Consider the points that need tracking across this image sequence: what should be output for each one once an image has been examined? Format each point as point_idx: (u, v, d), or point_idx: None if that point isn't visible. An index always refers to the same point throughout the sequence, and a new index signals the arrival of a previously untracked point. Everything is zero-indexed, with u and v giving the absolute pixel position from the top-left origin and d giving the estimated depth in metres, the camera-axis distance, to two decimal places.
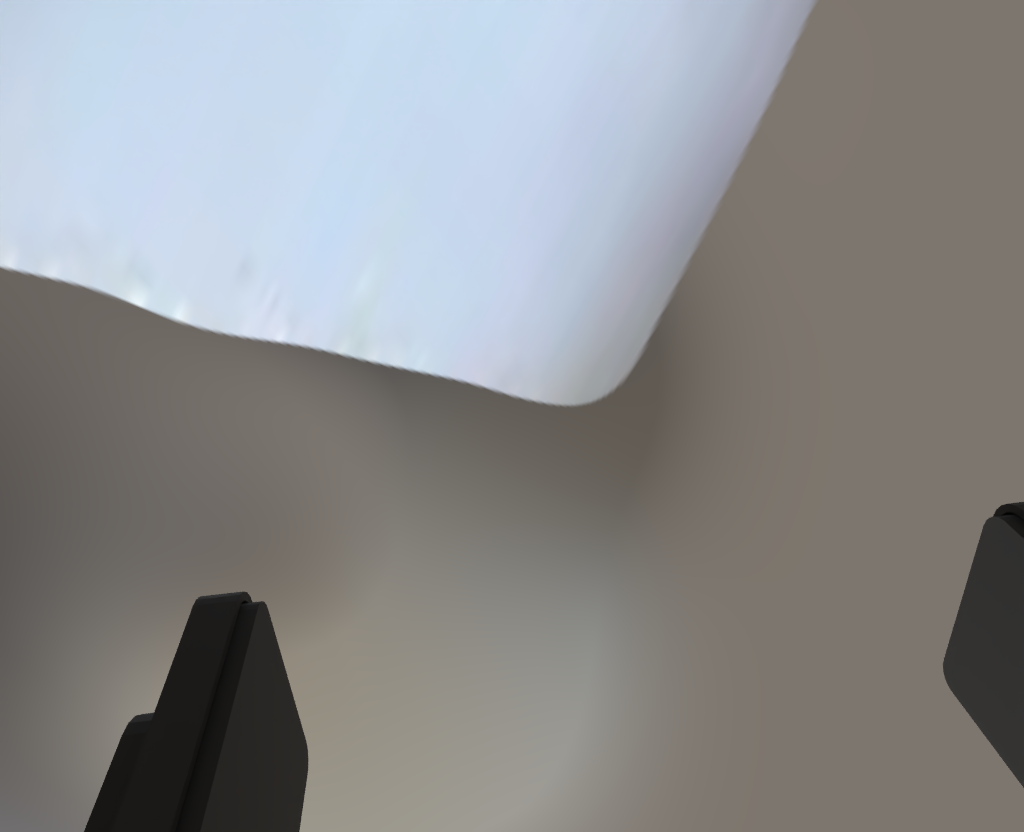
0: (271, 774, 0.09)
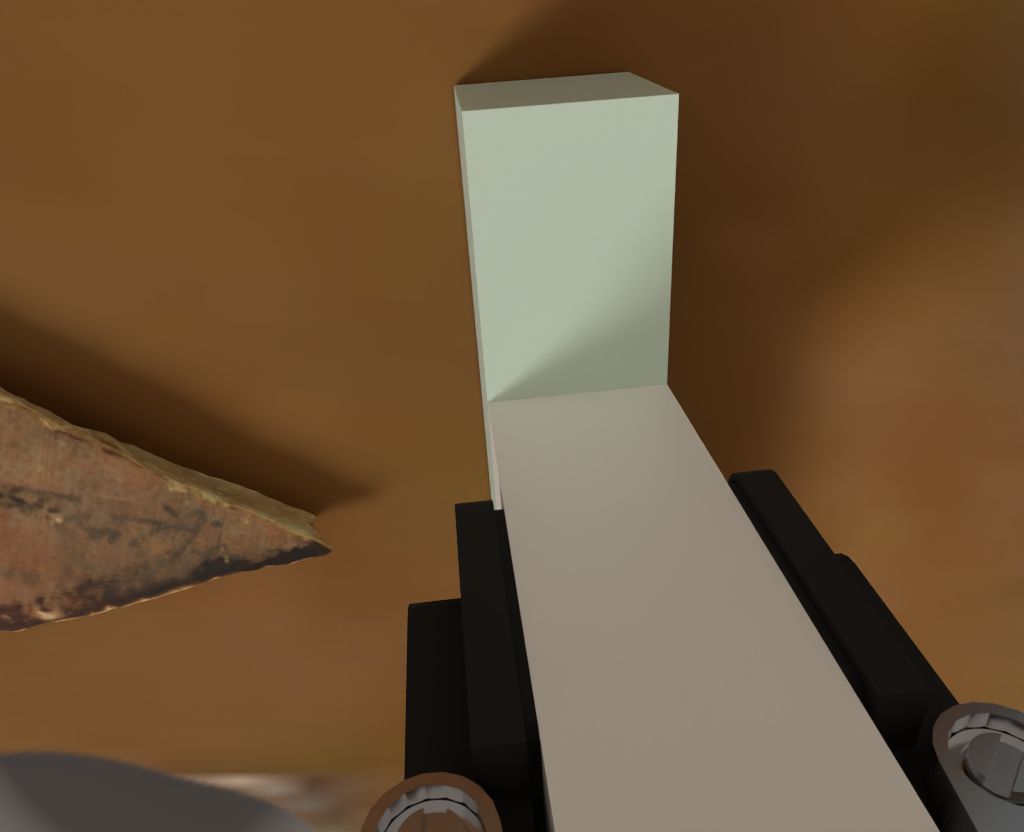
0: None
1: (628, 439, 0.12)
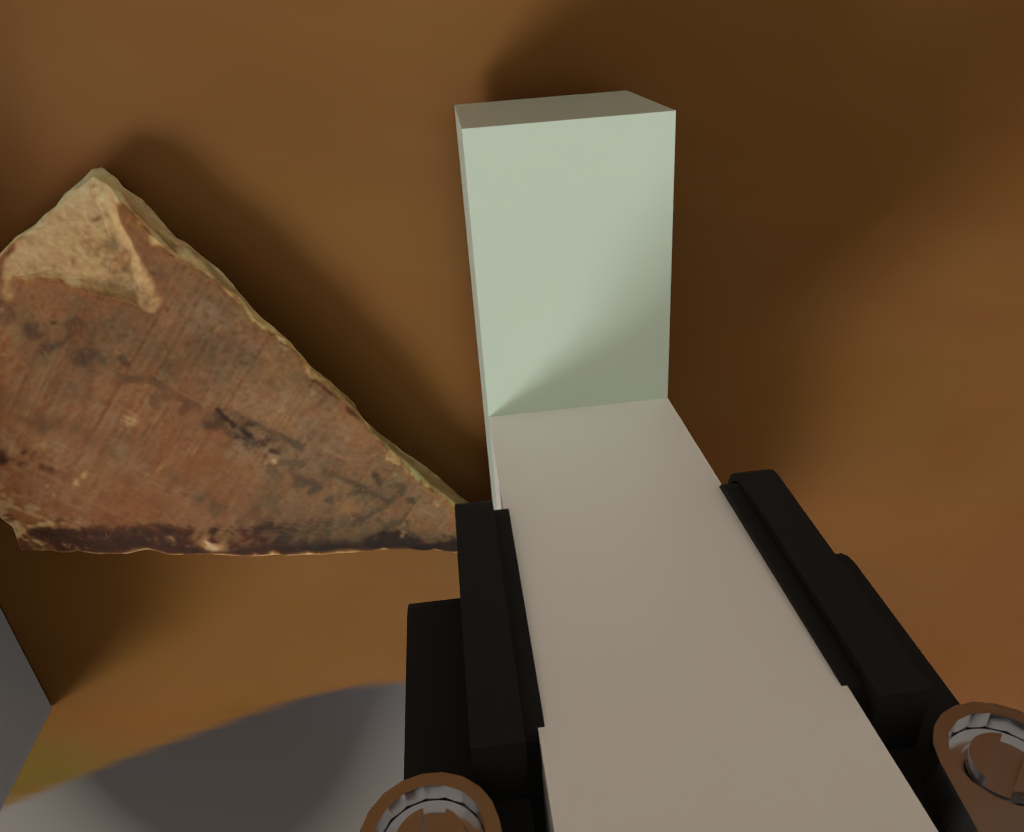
0: None
1: (629, 452, 0.12)
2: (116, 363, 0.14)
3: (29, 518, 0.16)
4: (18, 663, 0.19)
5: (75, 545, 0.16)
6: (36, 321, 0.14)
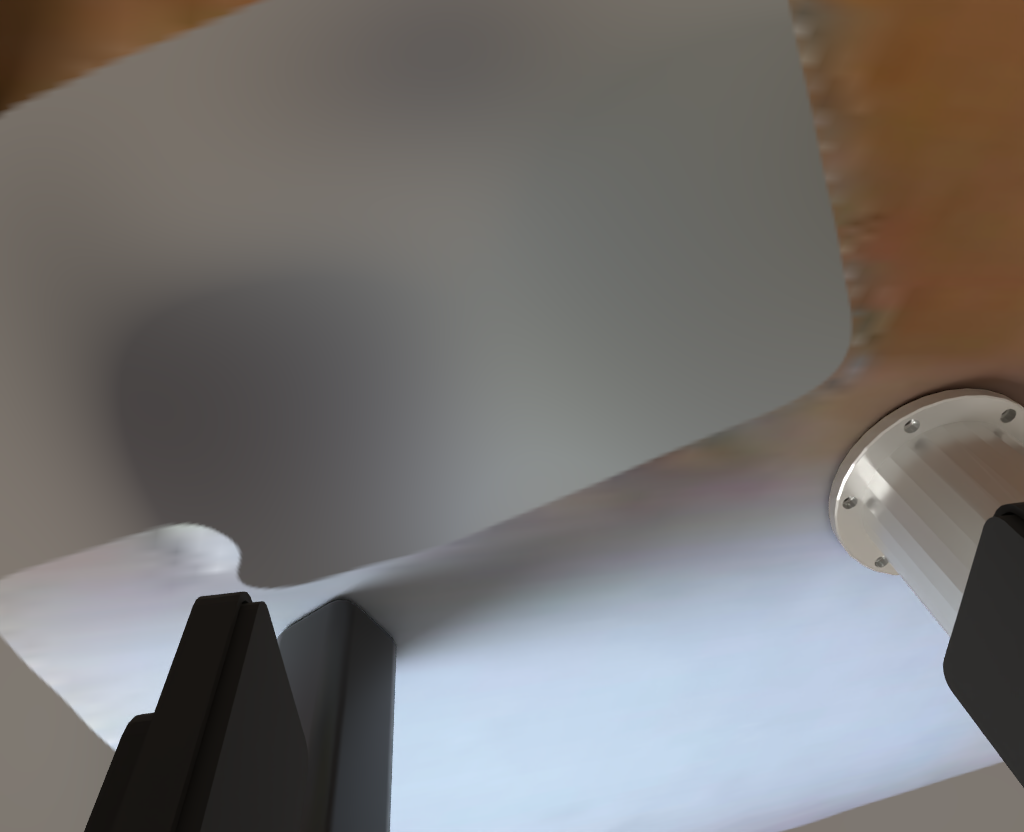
0: (271, 775, 0.09)
1: None
2: None
3: None
4: None
5: None
6: None
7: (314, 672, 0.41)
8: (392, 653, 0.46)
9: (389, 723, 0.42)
